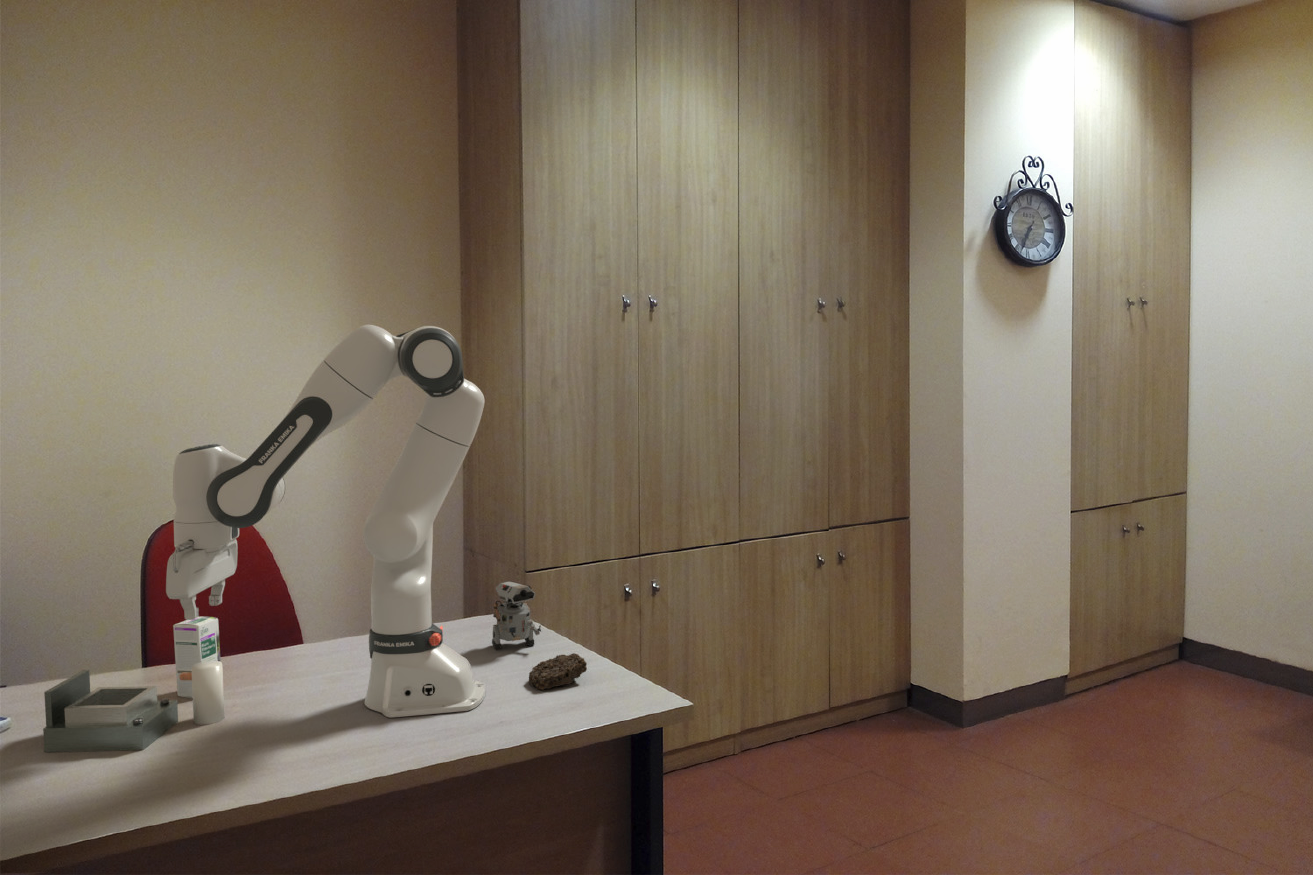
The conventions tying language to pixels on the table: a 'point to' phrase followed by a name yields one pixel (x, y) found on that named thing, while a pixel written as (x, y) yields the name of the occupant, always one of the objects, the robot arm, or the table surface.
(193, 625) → the syrup box
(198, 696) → the white rounded piece
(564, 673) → the brown porous lump
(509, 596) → the figurine
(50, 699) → the bolted metal fixture
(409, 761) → the table surface
